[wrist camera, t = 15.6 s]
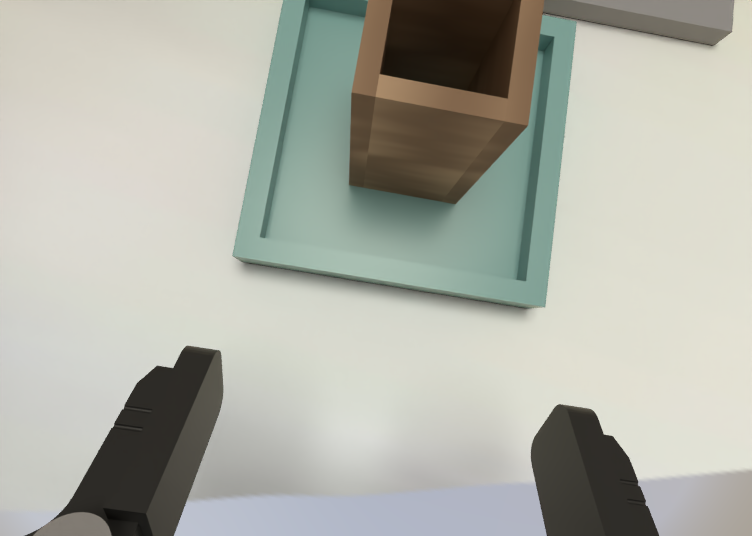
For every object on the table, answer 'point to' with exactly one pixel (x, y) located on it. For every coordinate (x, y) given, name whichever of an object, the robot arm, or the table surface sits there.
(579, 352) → the table surface
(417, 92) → the collar
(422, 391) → the table surface
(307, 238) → the tray
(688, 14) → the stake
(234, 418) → the table surface
